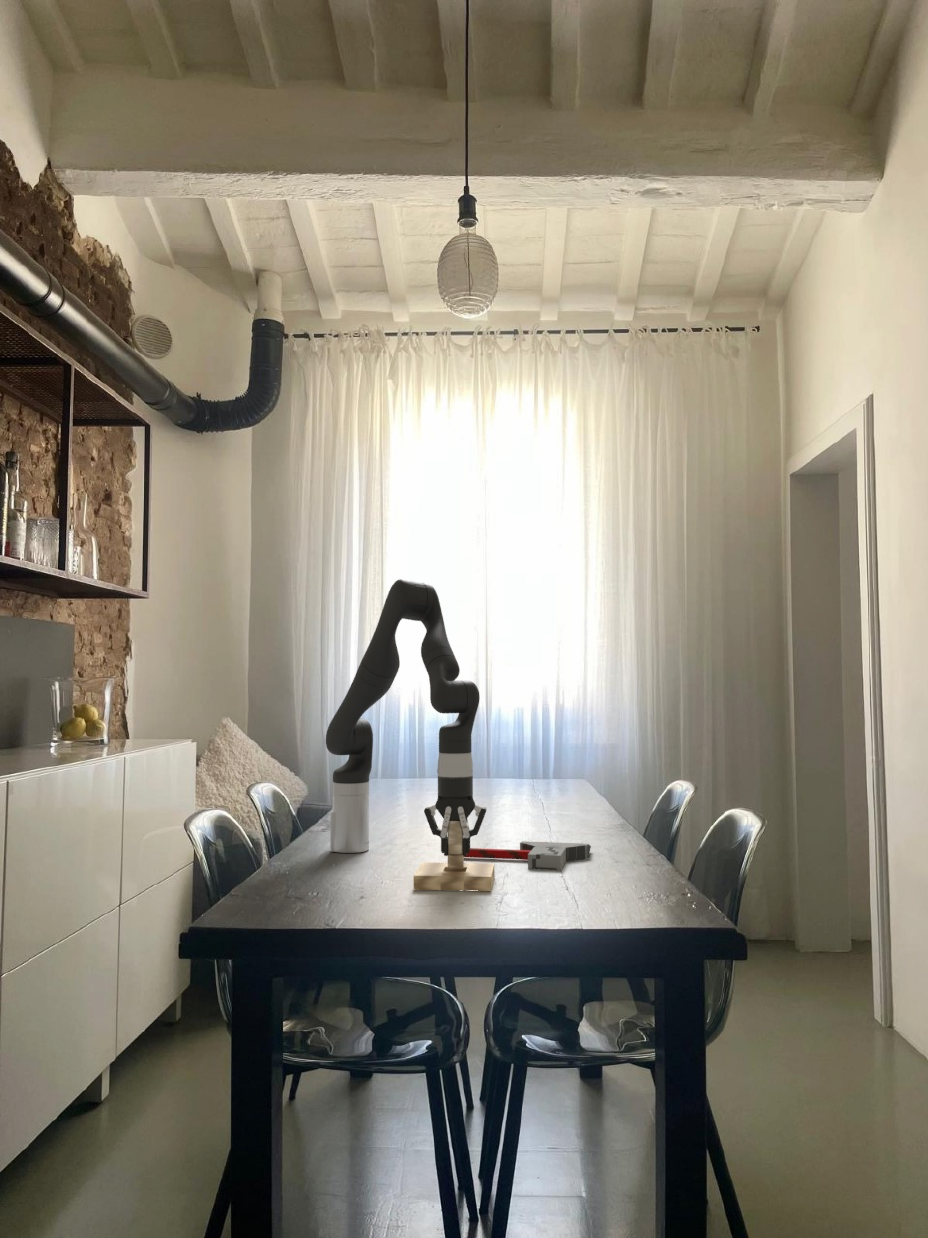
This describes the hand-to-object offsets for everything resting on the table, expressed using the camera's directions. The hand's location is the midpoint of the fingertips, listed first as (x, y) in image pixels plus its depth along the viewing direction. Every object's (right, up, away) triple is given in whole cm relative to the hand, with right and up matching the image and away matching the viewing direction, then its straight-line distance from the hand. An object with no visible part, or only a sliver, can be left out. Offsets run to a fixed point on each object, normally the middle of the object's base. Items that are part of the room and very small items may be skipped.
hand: (455, 855), depth 204 cm
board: (0, -6, 0) cm, 6 cm away
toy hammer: (+16, -8, +27) cm, 33 cm away
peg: (0, -3, 0) cm, 3 cm away
